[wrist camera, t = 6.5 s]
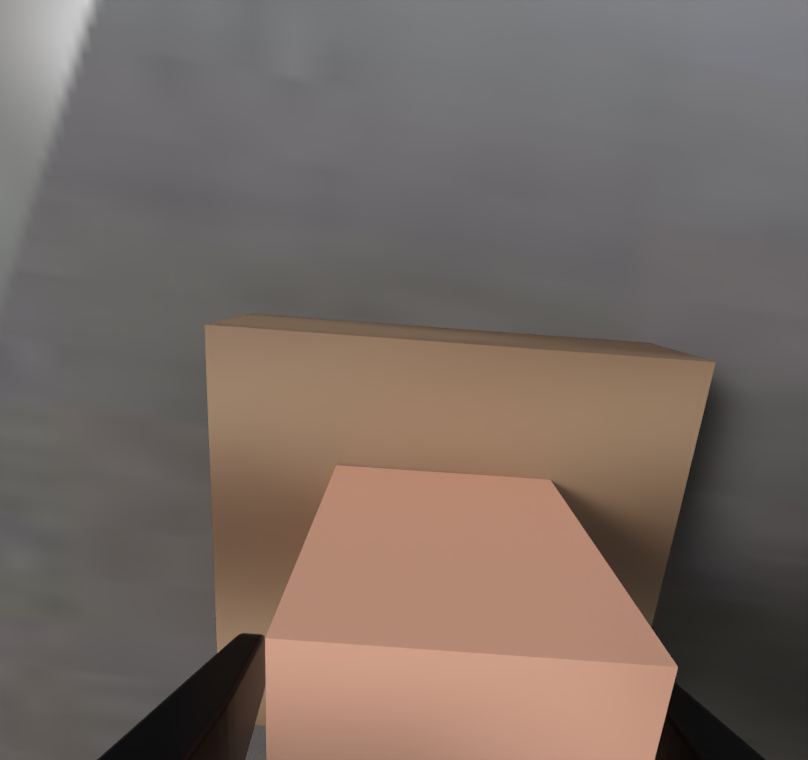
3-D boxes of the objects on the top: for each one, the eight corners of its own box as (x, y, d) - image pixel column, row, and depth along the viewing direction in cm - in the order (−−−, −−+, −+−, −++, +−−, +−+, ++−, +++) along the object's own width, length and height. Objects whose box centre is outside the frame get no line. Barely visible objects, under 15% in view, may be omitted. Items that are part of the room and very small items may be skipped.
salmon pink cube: (523, 656, 10) (607, 946, 6) (330, 643, 10) (268, 921, 6) (550, 479, 9) (677, 667, 5) (335, 465, 9) (265, 637, 5)
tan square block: (577, 655, 14) (619, 758, 11) (262, 627, 14) (220, 721, 11) (639, 340, 11) (715, 362, 8) (259, 312, 11) (204, 324, 9)
